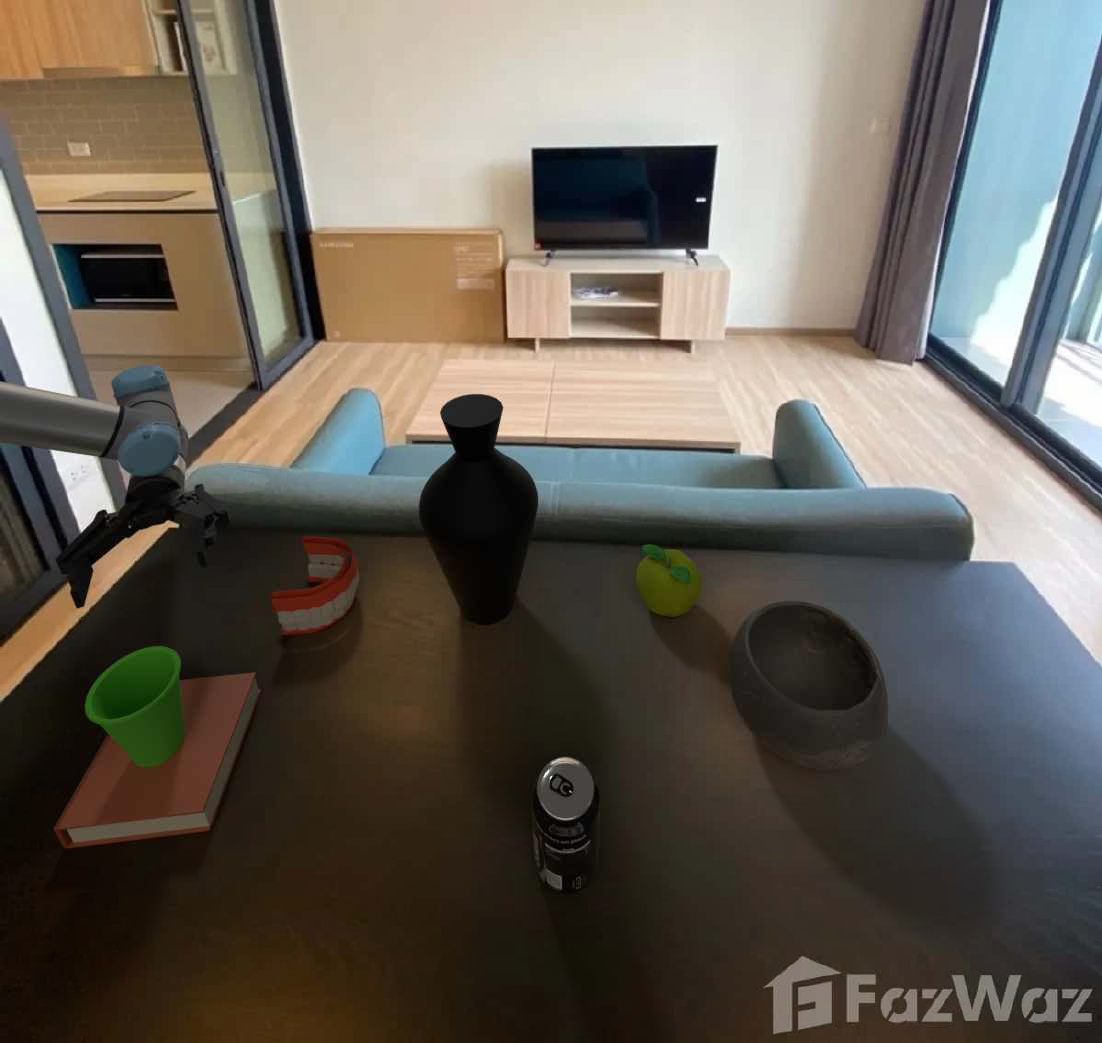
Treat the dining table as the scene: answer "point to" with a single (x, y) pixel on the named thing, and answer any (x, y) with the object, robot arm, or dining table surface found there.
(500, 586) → the vase
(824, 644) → the bowl
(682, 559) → the fruit
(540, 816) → the beverage can
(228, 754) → the book
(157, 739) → the cup
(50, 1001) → the dining table surface
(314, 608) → the toy
